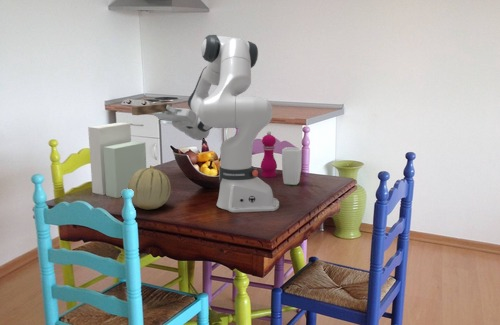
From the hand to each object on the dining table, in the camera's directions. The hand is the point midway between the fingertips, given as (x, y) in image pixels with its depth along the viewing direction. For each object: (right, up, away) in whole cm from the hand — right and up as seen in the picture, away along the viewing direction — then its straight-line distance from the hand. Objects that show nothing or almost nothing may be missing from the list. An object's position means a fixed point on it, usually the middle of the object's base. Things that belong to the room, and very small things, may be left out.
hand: (162, 106), depth 220 cm
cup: (+54, -33, +1) cm, 63 cm away
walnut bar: (-3, -3, -4) cm, 6 cm away
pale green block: (-12, -35, -11) cm, 39 cm away
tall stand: (-19, -34, -7) cm, 39 cm away
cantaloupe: (+1, -40, -32) cm, 51 cm away
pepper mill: (+45, -30, +16) cm, 56 cm away
